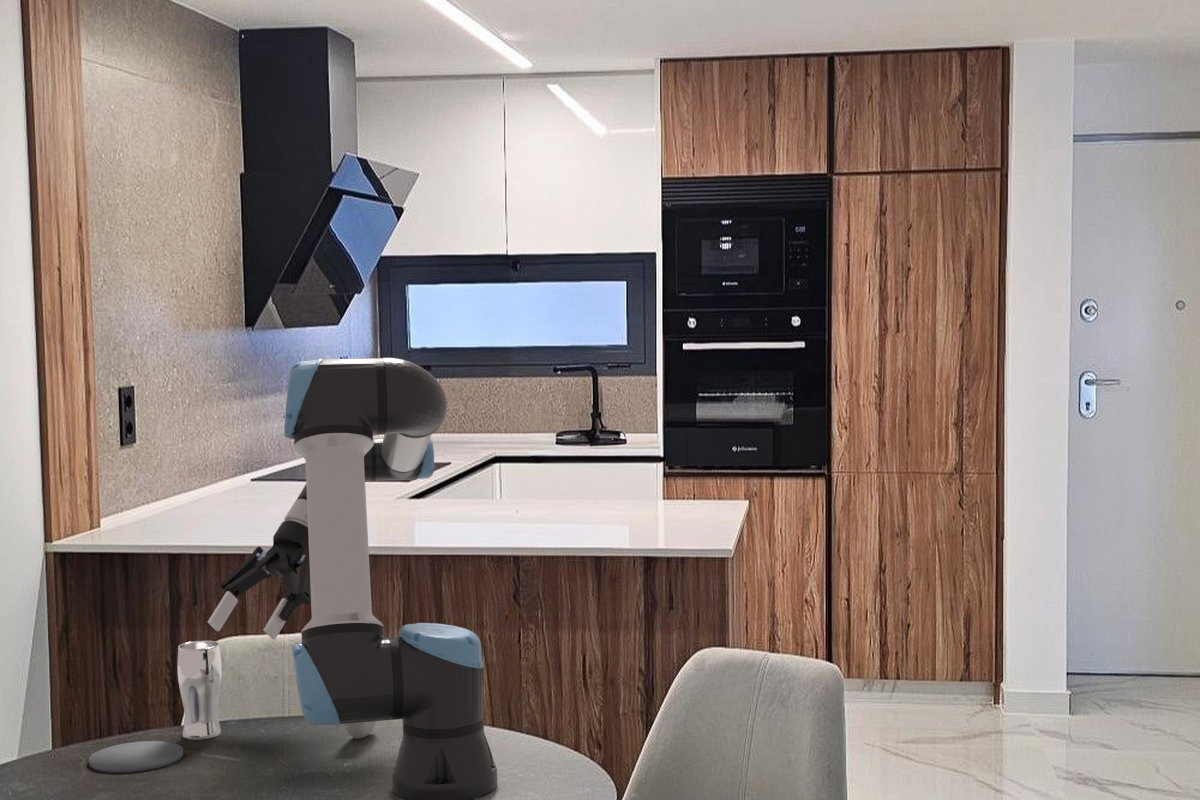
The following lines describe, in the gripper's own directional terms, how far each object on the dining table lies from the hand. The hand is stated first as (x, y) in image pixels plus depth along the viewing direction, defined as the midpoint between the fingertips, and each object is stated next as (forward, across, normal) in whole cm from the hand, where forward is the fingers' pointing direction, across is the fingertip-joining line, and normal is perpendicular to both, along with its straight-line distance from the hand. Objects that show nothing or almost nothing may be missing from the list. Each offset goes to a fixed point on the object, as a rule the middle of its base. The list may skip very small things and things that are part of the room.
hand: (240, 631), depth 248 cm
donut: (+9, -25, -13) cm, 29 cm away
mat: (+28, -2, +6) cm, 29 cm away
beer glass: (+18, 0, -4) cm, 18 cm away
